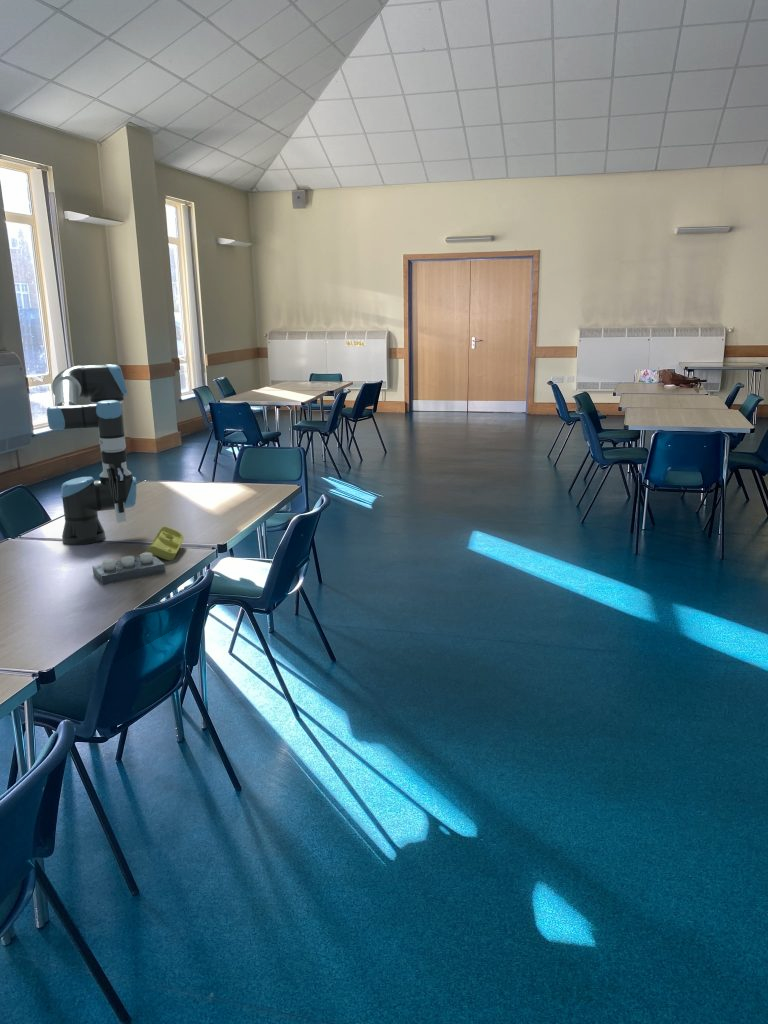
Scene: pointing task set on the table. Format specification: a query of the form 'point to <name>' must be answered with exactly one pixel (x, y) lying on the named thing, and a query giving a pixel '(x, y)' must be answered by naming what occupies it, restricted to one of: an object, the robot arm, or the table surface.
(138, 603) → the table surface
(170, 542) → the plastic component
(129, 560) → the knob mid
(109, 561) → the knob
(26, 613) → the table surface
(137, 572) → the mount
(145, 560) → the knob
